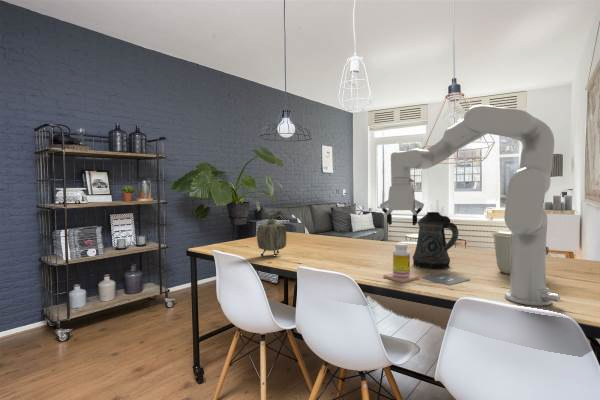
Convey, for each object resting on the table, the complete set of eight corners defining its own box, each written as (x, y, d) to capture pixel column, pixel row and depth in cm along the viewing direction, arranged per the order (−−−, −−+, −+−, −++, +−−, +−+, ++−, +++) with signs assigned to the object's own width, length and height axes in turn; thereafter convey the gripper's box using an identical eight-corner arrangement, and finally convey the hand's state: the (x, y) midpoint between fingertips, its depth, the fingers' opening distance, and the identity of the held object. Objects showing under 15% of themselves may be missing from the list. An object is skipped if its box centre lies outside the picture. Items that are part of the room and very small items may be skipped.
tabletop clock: (278, 253, 202) (277, 209, 201) (288, 255, 195) (287, 210, 194) (257, 256, 193) (256, 211, 192) (266, 259, 186) (265, 211, 185)
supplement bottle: (410, 278, 139) (410, 245, 138) (393, 277, 140) (393, 245, 140) (409, 273, 145) (409, 243, 145) (392, 273, 147) (392, 242, 146)
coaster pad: (419, 278, 141) (419, 276, 141) (402, 282, 136) (402, 280, 136) (400, 273, 150) (400, 271, 149) (383, 277, 144) (383, 274, 144)
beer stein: (412, 260, 175) (411, 211, 174) (454, 262, 170) (454, 211, 169) (413, 268, 159) (413, 213, 158) (459, 270, 154) (459, 213, 153)
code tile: (470, 280, 138) (470, 279, 138) (449, 285, 131) (449, 284, 131) (441, 273, 149) (441, 272, 149) (421, 277, 142) (421, 277, 142)
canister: (492, 266, 160) (492, 220, 159) (540, 270, 151) (540, 222, 150) (490, 275, 144) (490, 224, 144) (544, 280, 135) (544, 226, 134)
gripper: (424, 181, 140) (425, 224, 141) (382, 183, 149) (383, 223, 149) (421, 181, 134) (422, 226, 134) (377, 183, 142) (378, 225, 142)
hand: (402, 224), depth 142 cm, fingers open, 9 cm apart
